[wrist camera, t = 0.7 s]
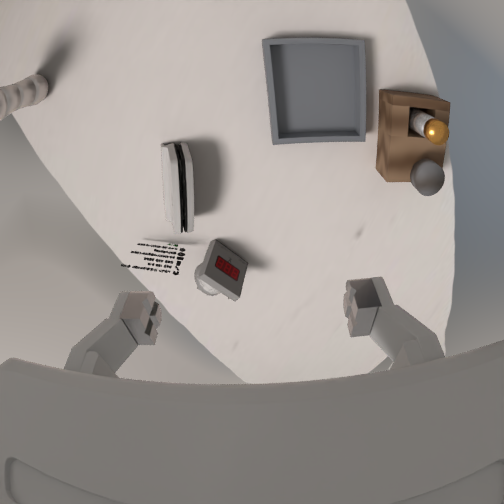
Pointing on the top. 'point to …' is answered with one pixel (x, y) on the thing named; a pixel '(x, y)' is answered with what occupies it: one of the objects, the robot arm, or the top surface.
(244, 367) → the top surface
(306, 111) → the tray
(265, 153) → the top surface
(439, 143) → the gold-capped glass vial
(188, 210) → the black-striped white block
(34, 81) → the plastic bottle
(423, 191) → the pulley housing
